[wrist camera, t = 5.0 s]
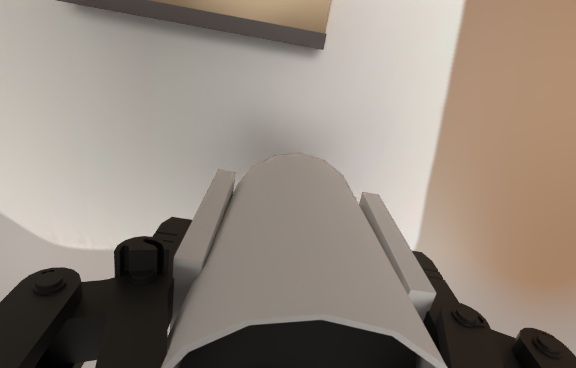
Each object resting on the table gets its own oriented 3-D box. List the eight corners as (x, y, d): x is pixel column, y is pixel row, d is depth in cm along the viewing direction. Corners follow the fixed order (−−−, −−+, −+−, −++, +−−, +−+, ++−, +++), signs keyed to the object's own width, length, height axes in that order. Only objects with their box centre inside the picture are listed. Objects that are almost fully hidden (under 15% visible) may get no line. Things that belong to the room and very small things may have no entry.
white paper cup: (376, 251, 17) (479, 500, 8) (249, 282, 18) (209, 543, 9) (346, 124, 15) (447, 273, 5) (200, 166, 15) (70, 361, 6)
